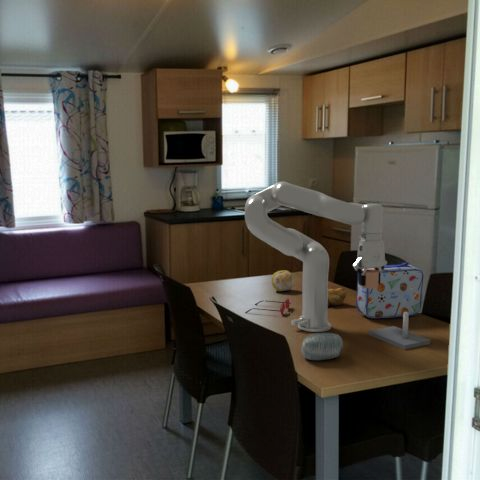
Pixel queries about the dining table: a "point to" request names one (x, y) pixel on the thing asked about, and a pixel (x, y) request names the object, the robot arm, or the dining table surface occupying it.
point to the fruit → (282, 280)
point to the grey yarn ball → (322, 346)
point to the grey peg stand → (400, 335)
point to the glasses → (276, 310)
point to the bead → (371, 278)
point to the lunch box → (392, 293)
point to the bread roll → (336, 296)
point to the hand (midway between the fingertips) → (369, 283)
